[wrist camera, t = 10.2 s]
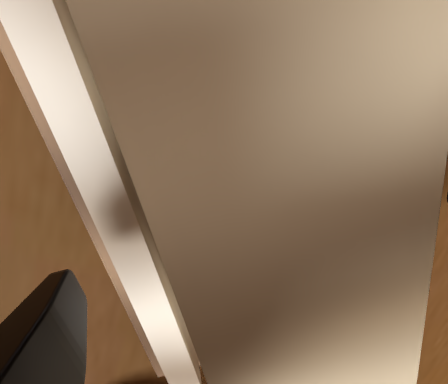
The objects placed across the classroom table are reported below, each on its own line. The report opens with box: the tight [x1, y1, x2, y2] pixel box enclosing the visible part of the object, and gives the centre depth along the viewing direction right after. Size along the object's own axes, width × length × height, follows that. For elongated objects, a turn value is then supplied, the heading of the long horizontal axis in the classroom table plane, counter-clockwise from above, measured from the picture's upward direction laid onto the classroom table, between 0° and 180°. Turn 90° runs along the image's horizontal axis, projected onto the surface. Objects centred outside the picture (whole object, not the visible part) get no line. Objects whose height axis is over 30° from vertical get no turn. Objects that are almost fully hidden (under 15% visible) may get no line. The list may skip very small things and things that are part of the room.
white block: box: [66, 0, 448, 384], centre depth 9 cm, size 12×4×6 cm, turn 11°
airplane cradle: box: [0, 0, 202, 384], centre depth 10 cm, size 17×10×5 cm, turn 11°
